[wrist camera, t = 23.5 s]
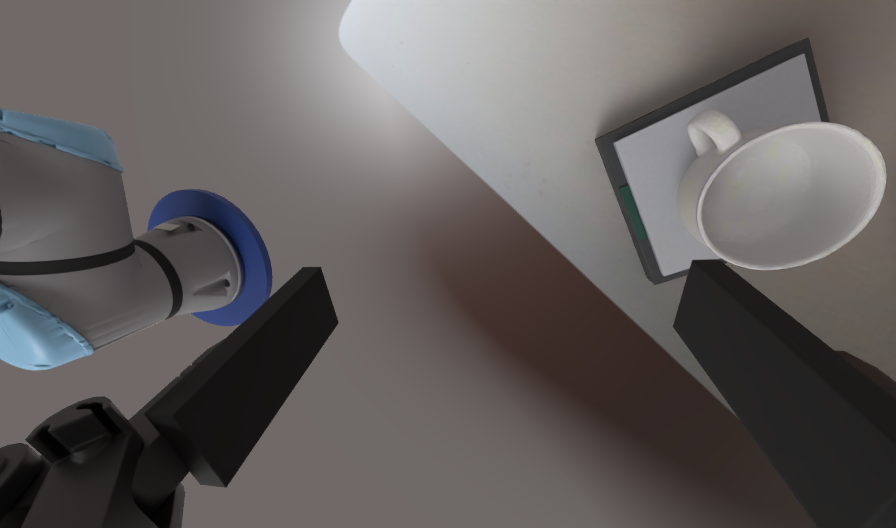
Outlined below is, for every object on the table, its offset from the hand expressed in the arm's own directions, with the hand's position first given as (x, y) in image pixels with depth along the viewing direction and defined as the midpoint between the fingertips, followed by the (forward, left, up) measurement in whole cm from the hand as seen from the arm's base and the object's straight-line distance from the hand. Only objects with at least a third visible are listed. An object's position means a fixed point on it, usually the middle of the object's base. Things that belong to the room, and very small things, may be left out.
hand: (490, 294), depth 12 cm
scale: (+18, -6, -29) cm, 35 cm away
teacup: (+18, -5, -26) cm, 32 cm away
